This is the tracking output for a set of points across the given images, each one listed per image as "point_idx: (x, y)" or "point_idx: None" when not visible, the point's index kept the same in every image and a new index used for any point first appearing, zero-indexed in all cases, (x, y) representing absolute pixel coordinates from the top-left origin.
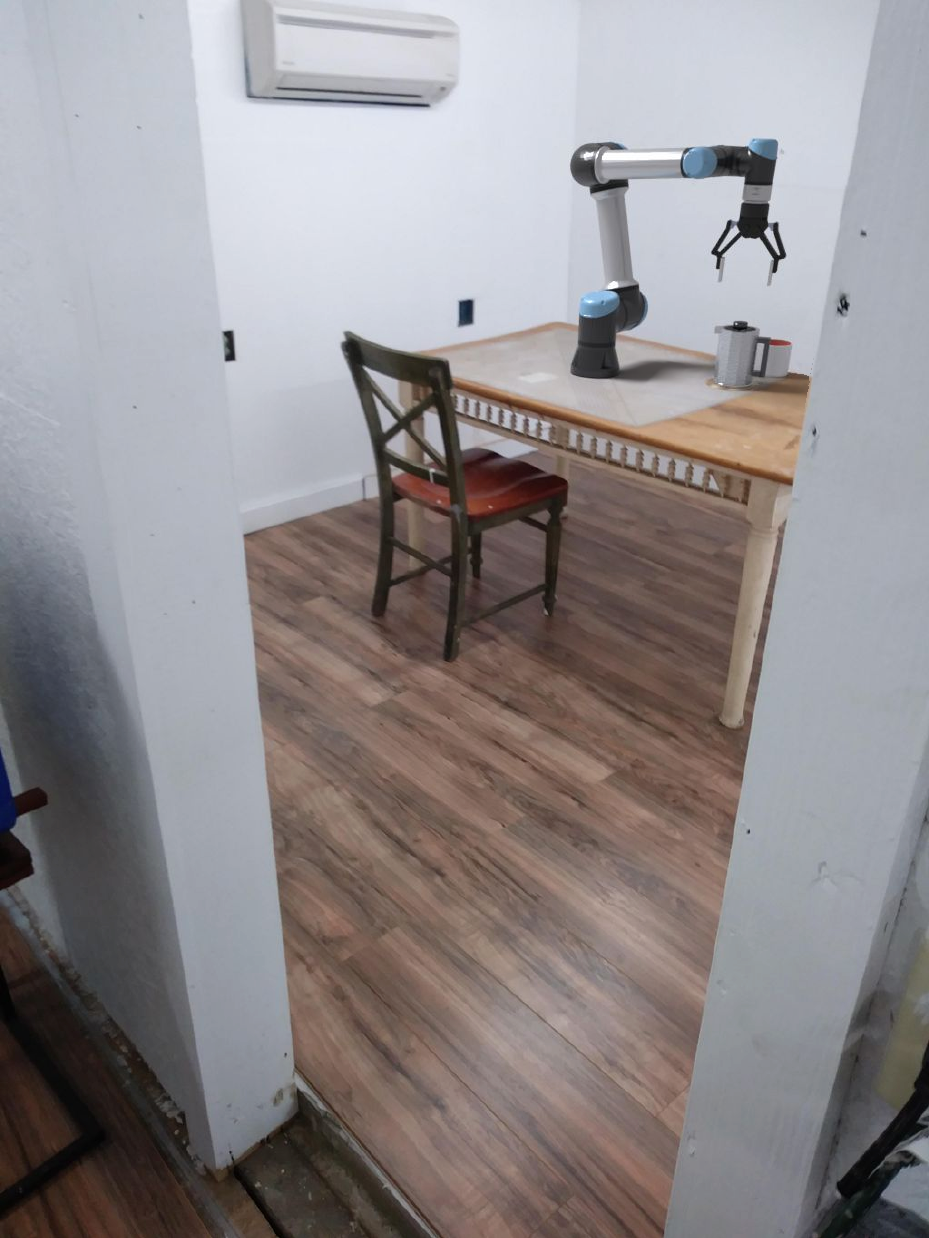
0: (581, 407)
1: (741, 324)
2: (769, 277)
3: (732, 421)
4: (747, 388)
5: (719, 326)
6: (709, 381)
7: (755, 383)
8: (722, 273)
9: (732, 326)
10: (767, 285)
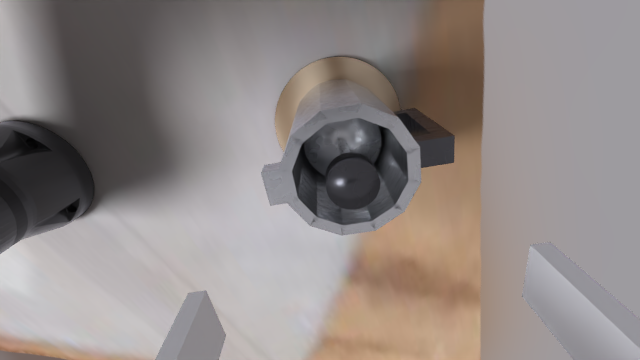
0: None
1: (362, 206)
2: (571, 343)
3: (397, 318)
4: None
5: (275, 180)
6: (285, 131)
7: (385, 89)
8: (193, 357)
9: (309, 136)
10: (526, 296)
